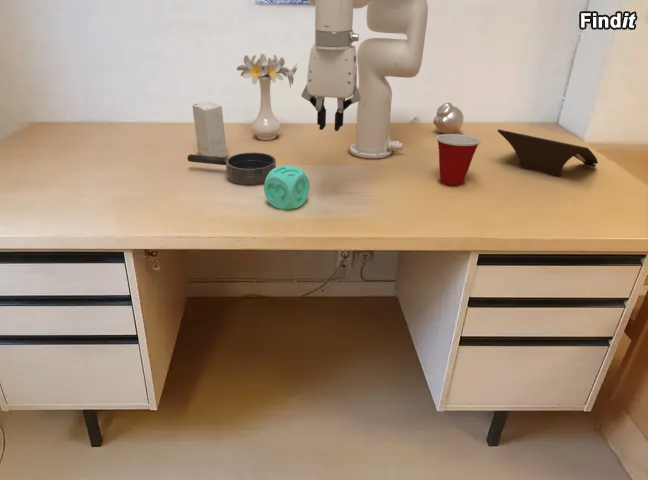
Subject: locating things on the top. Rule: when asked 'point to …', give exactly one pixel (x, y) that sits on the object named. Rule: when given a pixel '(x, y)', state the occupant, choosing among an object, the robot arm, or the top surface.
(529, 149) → the laptop tray
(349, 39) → the robot arm
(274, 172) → the decorative dice
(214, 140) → the cosmetic box
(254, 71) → the flower vase
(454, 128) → the silver rounded lump
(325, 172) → the top surface
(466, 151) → the plastic cup
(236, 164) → the pan
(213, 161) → the pan handle
